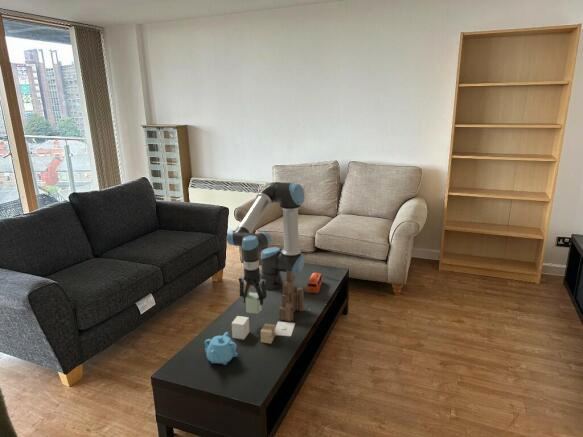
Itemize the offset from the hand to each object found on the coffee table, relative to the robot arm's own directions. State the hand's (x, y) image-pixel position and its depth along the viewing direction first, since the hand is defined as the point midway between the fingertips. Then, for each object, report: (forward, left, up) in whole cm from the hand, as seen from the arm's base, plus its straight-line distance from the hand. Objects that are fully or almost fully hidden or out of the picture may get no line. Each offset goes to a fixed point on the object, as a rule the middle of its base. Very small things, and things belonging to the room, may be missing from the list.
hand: (253, 309), depth 204 cm
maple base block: (+11, +11, -8) cm, 17 cm away
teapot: (+32, -4, -9) cm, 33 cm away
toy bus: (-49, +21, -9) cm, 54 cm away
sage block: (0, 0, 0) cm, 0 cm away
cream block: (+11, -3, -8) cm, 14 cm away
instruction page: (+1, +16, -8) cm, 18 cm away
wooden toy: (-14, +16, -9) cm, 23 cm away
